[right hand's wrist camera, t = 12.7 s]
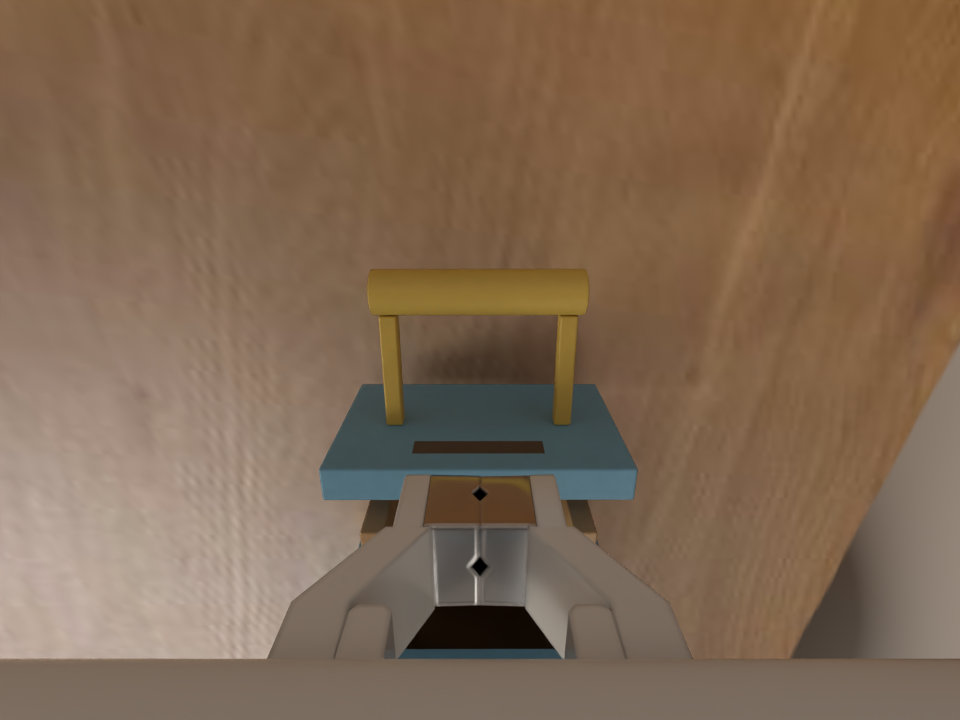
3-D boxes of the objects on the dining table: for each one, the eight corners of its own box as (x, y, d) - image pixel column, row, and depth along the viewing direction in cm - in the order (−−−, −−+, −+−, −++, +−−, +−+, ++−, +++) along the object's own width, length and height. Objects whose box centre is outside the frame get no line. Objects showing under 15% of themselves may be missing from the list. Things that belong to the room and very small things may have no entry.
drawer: (349, 251, 20) (293, 293, 14) (607, 250, 20) (662, 292, 14) (390, 690, 29) (367, 829, 23) (567, 690, 29) (590, 828, 23)
